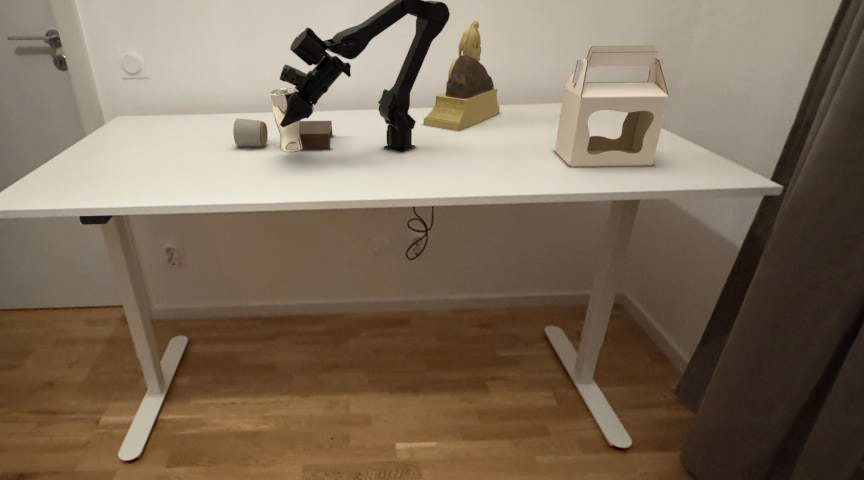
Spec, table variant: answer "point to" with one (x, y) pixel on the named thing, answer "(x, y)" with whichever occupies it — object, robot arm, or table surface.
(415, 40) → the robot arm
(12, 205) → the table surface
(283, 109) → the beer glass
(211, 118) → the table surface
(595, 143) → the gable box
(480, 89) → the tan and brown statue
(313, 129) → the desk shelf
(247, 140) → the ceramic mug
